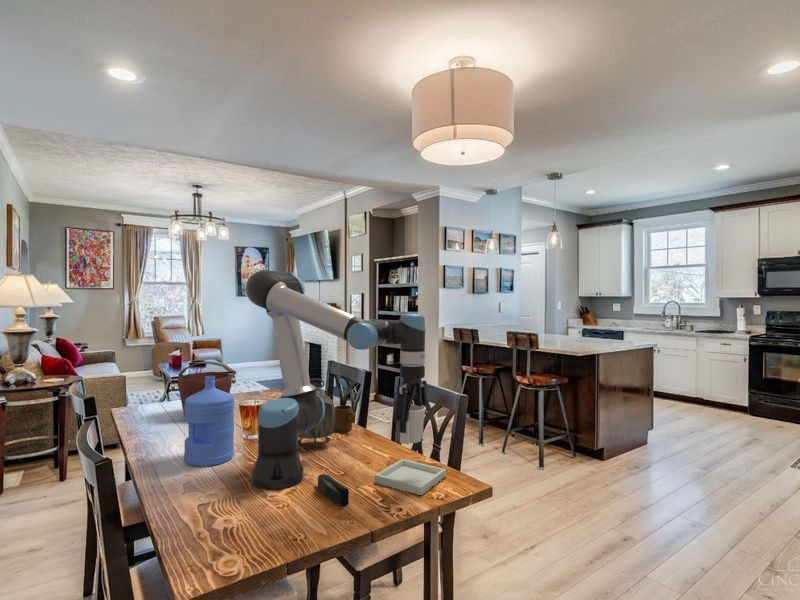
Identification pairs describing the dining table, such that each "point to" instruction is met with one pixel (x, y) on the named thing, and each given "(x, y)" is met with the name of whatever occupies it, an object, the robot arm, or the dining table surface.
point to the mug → (343, 418)
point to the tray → (410, 476)
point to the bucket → (203, 381)
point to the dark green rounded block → (333, 490)
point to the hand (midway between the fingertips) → (411, 439)
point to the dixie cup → (416, 422)
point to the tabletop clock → (326, 424)
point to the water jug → (209, 426)
